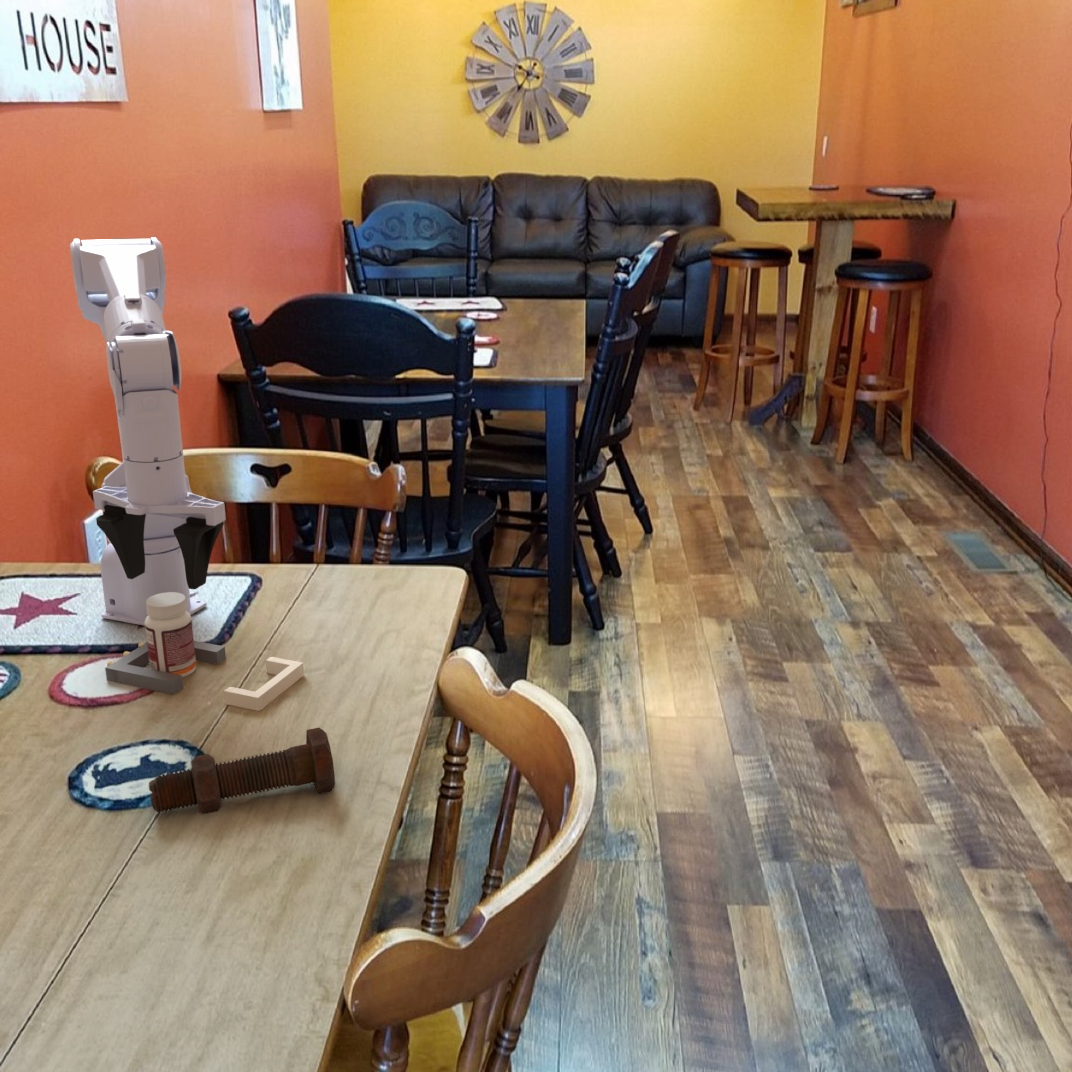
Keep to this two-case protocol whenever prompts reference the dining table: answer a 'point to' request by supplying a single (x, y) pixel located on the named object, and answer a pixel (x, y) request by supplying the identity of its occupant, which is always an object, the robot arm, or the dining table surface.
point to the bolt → (246, 776)
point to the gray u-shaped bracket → (135, 675)
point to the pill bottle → (169, 634)
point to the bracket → (267, 685)
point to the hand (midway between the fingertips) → (166, 580)
